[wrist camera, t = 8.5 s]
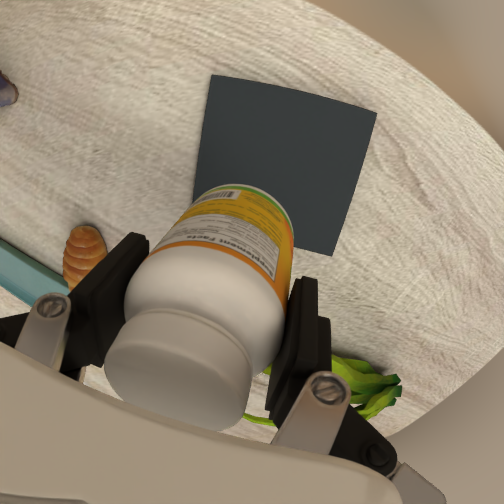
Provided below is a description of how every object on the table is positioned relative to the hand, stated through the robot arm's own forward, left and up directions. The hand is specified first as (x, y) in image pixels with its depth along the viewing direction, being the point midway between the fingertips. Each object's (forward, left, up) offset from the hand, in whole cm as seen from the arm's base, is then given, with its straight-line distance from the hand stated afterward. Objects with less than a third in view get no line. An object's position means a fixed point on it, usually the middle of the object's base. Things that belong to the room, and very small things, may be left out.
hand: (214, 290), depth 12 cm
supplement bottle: (0, 0, -5) cm, 5 cm away
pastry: (+16, -19, -19) cm, 31 cm away
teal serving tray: (+23, -29, -19) cm, 42 cm away
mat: (0, +1, -19) cm, 19 cm away
